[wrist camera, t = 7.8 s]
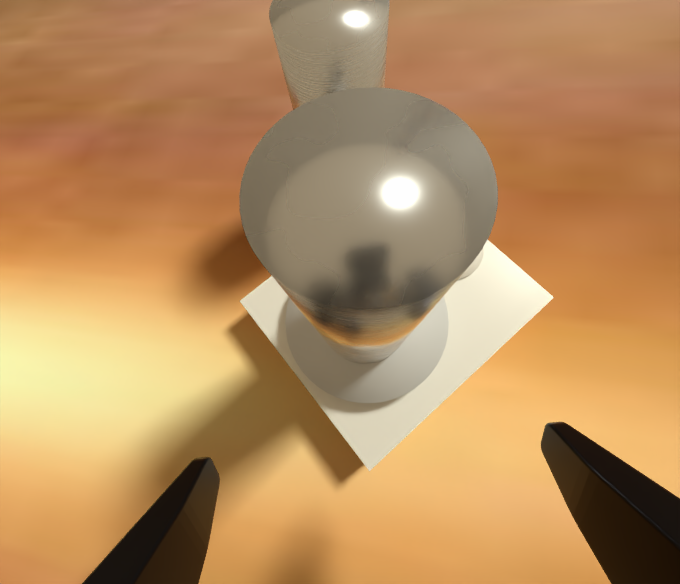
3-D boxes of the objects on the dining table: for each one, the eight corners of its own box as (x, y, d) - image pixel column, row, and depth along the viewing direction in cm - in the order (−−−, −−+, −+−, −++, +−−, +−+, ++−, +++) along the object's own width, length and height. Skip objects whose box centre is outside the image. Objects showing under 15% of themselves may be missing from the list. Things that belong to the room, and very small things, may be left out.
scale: (369, 460, 18) (369, 476, 15) (253, 310, 22) (233, 296, 18) (532, 307, 20) (564, 292, 17) (402, 190, 23) (408, 158, 20)
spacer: (342, 229, 23) (319, 70, 11) (302, 188, 24) (246, 8, 13) (391, 190, 24) (415, 3, 12) (349, 152, 25) (336, -49, 13)
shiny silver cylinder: (343, 379, 16) (296, 358, 5) (307, 300, 18) (207, 144, 6) (424, 339, 17) (555, 235, 5) (382, 265, 18) (415, 56, 7)
